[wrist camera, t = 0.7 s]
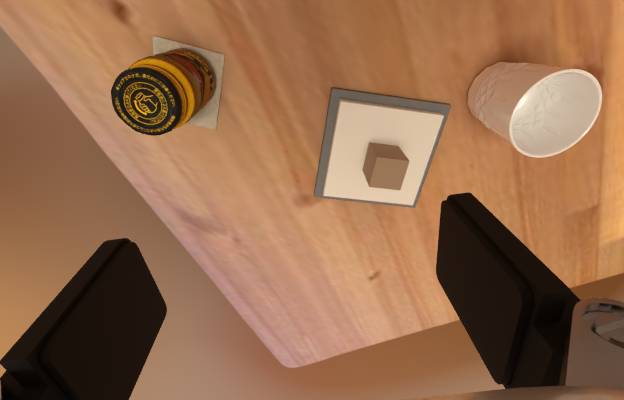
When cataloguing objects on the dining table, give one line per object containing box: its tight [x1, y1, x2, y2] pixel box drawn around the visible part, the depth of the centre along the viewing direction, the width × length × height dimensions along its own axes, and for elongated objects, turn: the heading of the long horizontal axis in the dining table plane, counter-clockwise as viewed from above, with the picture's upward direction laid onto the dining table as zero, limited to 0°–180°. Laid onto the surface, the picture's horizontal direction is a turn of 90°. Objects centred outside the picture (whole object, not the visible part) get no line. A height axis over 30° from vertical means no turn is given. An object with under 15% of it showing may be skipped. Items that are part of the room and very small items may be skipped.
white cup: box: [467, 62, 602, 157], centre depth 33 cm, size 8×8×10 cm
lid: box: [323, 99, 444, 205], centre depth 38 cm, size 12×12×6 cm
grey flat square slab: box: [314, 88, 451, 208], centre depth 40 cm, size 14×14×1 cm
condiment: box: [111, 36, 224, 135], centre depth 31 cm, size 7×8×12 cm
